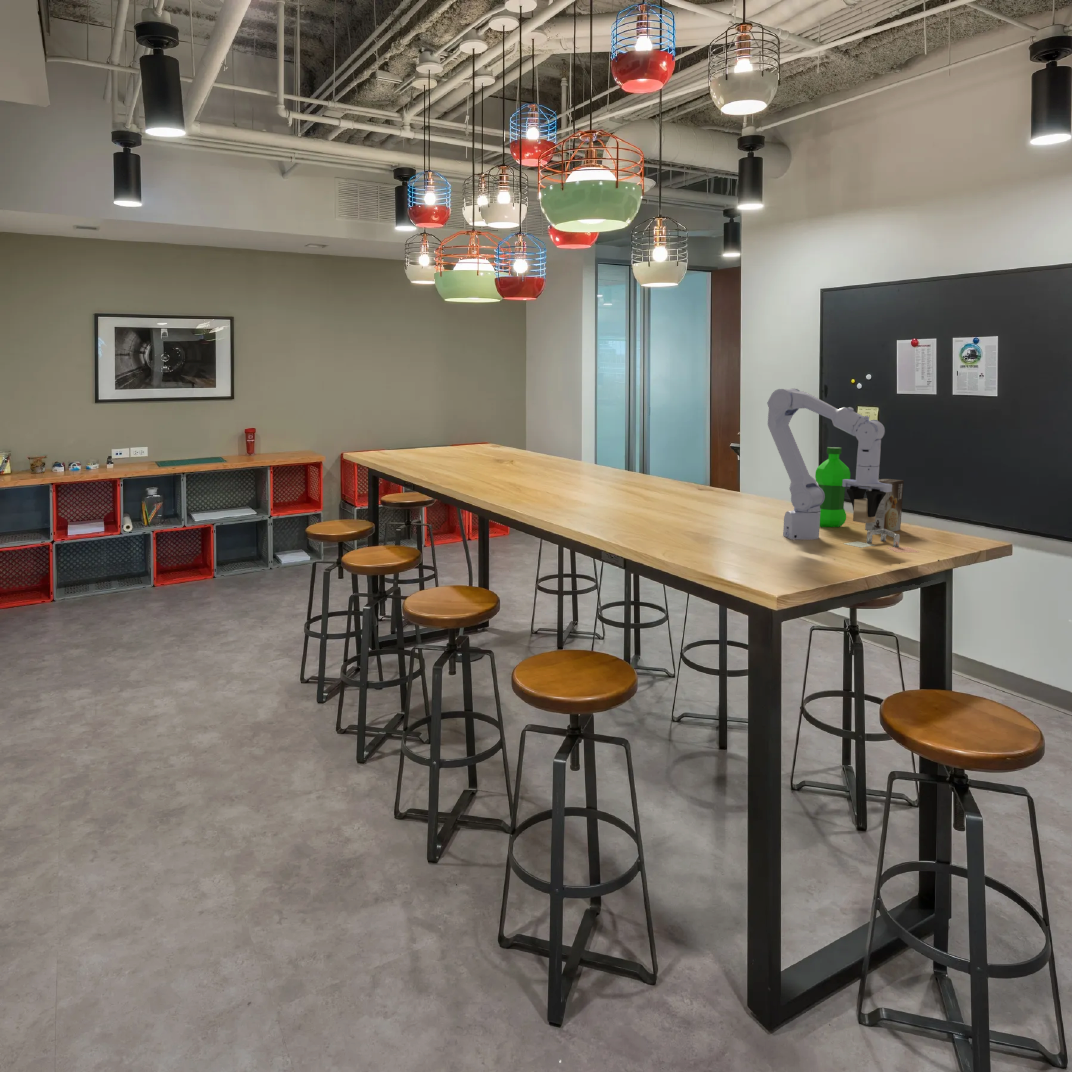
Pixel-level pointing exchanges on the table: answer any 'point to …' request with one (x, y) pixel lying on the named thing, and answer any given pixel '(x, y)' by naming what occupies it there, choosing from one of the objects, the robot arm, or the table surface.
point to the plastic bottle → (832, 488)
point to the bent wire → (883, 536)
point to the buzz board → (895, 549)
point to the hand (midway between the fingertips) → (864, 515)
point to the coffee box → (889, 508)
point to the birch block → (861, 511)
